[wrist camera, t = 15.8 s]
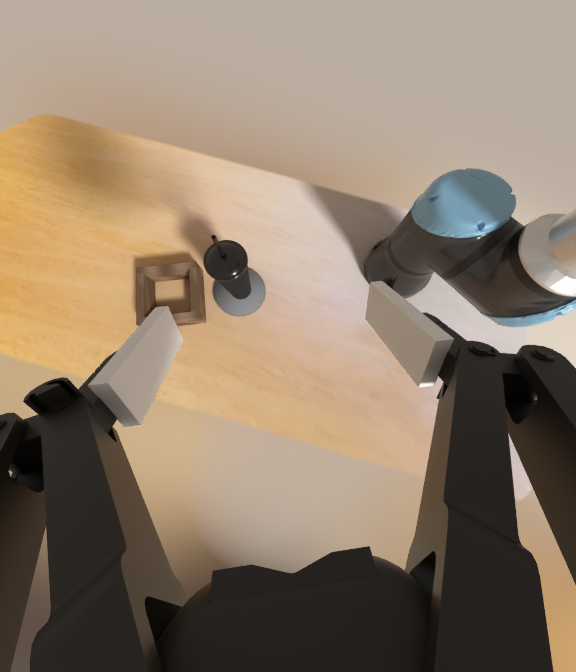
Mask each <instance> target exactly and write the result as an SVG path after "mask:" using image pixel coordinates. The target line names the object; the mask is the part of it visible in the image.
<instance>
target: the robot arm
mask: <svg viewBox="0 0 576 672" xmlns="http://www.w3.org/2000/svg"><path fill="white" fill-rule="evenodd" d="M511 192H512V188H511V187H510V185H509V184H508V183H507V182H506V181H504V180H503V179H502V178H501V177H499V176H497V175H495V174H493V173H491V172H488V171H484V170H480V169H465V170H460V169H459V170H454V171H451V172H448V173H446V174H444V175H442V176H440V177H439V178H437V179H436V180H435V181H434V182H433V183H432V184H431V185H430V186H429V187H428V188H427V189H426V191H425V192H424V193H423V194H422V195H421V196H420V197H418V198H417V200H416V201H415V202H414V205H413V207H412V208H411V210H410V211H409V212H408V214H407V215H406V216H405V218H404V219H403V220H402V222H401V223H400V224H399V226H398V227H397V228H396V230H395V231H394V232H393V234H391V235H390V236H388V237H386V238H384V239H383V240H381V241H380V242H378V243H377V244H376V245H375V246H374V247H373V248H372V250H371V251H370V252H369V254H368V256H367V258H366V261H365V275H366V278H367V280H368V282H369V284H370V288H369V295H368V303H367V310H366V317H365V319H366V320H367V321H368V322H369V324H370V325H371V326H372V328H373V329H374V330H375V331H376V333H377V334H378V335H379V337H380V338H381V339H382V341H383V342H384V343H385V344H386V346H387V347H388V348H389V350H390V351H391V352H392V354H393V355H394V356H395V357H396V359H397V360H398V361H399V363H400V364H401V365H402V366H403V368H404V369H405V370H406V372H407V373H408V374H409V376H410V377H411V378H412V379H413V381H414V382H415V383H416V385H417V386H418V387H425V386H433V385H435V382H436V380H437V378H438V376H439V377H440V378H441V379H442V381H443V382H444V383H443V385H442V387H441V389H440V391H439V394H438V396H437V399H439V403H438V409H437V414H436V420H435V426H434V431H433V437H432V443H431V448H430V454H429V459H428V465H427V471H426V476H425V482H424V487H423V493H422V499H421V504H420V510H419V516H418V521H417V527H416V532H415V536H414V539H413V542H412V545H411V548H410V551H409V554H408V559H407V563H406V568H405V571H404V570H403V569H402V568H400V567H399V566H397V565H395V564H393V563H391V562H389V561H387V560H385V559H382V558H379V557H376V556H372V553H371V550H370V547H362V548H356V549H349V550H343V551H337V552H332V553H330V554H328V555H326V556H324V557H323V558H321V559H319V560H317V561H315V562H314V563H312V564H310V565H308V566H307V567H305V568H303V569H301V570H300V571H298V572H296V573H286V572H282V571H277V570H273V569H268V568H264V567H259V566H255V565H247V566H241V567H235V568H228V569H222V570H215V571H213V574H212V581H211V582H210V583H208V584H207V585H205V586H204V587H203V588H201V589H200V590H199V591H197V592H196V593H195V594H194V595H193V596H192V597H191V598H190V599H189V598H188V596H187V594H186V592H185V590H184V588H183V586H182V585H181V583H180V582H179V581H178V579H177V578H176V577H175V575H174V573H173V572H172V570H171V567H170V565H169V562H168V560H167V557H166V555H165V552H164V550H163V547H162V545H161V542H160V539H159V537H158V534H157V532H156V529H155V527H154V525H153V522H152V519H151V517H150V514H149V512H148V509H147V507H146V504H145V502H144V499H143V497H142V494H141V492H140V489H139V487H138V484H137V482H136V479H135V476H134V474H133V471H132V469H131V466H130V464H129V461H128V459H127V456H126V454H125V451H124V449H123V446H122V444H121V441H120V439H119V436H118V434H117V431H116V430H115V429H114V428H113V427H112V426H113V425H114V423H115V422H116V420H117V419H118V421H119V422H120V423H121V424H122V425H123V426H124V427H126V426H134V425H141V423H142V421H143V419H144V417H145V415H146V413H147V411H148V409H149V408H150V406H151V403H152V402H153V400H154V398H155V396H156V394H157V392H158V390H159V388H160V386H161V384H162V382H163V380H164V378H165V376H166V374H167V372H168V370H169V368H170V366H171V364H172V362H173V360H174V358H175V356H176V354H177V352H178V350H179V348H180V346H181V344H182V342H183V339H182V337H181V334H180V332H179V330H178V327H177V325H176V323H175V321H174V318H173V316H172V314H171V312H170V309H169V307H168V306H162V307H155V309H154V310H153V311H152V312H151V313H150V314H149V316H148V317H147V318H146V319H145V320H144V321H143V322H142V324H141V325H140V326H139V327H138V328H137V329H136V331H135V332H134V333H133V334H132V335H131V336H130V337H129V339H128V340H127V341H126V342H125V343H124V344H123V345H122V347H121V348H120V349H119V350H118V351H116V352H114V353H113V354H112V355H110V356H109V357H107V358H106V359H105V360H104V361H103V363H102V364H101V365H100V367H98V368H97V369H96V370H95V373H93V374H92V375H91V376H90V377H89V378H88V379H87V380H86V382H85V383H84V384H83V385H82V386H81V387H80V388H79V389H77V388H76V387H75V386H74V385H73V384H72V383H71V381H70V380H69V379H68V378H57V379H53V380H50V381H48V382H45V383H43V384H42V385H40V386H38V387H36V388H35V389H33V390H32V391H31V392H29V394H28V395H27V396H26V397H25V398H24V401H23V402H24V403H26V404H27V405H28V406H29V407H31V409H33V410H34V411H35V412H36V413H38V414H39V415H36V416H33V417H30V418H27V419H24V420H23V419H22V418H20V417H19V416H18V415H17V414H15V413H6V414H3V415H0V672H10V669H11V665H12V661H13V657H14V653H15V649H16V645H17V641H18V637H19V633H20V628H21V625H22V621H23V617H24V613H25V609H26V604H27V600H28V596H29V592H30V588H31V584H32V580H33V576H34V571H35V568H36V564H37V560H38V555H39V551H40V547H41V543H42V539H43V535H44V531H45V527H46V529H47V546H48V562H49V563H48V564H49V582H50V598H51V599H50V600H51V614H50V618H49V620H48V622H47V623H46V624H45V625H44V626H43V627H42V628H41V629H40V630H39V631H38V632H37V634H36V636H35V639H34V641H33V644H32V648H31V657H30V672H553V666H552V659H551V651H550V645H549V637H548V630H547V623H546V617H545V609H544V602H543V595H542V588H541V581H540V575H539V571H538V567H537V563H536V561H535V559H534V557H533V555H532V553H530V552H529V551H528V550H527V549H525V548H524V547H523V546H522V545H521V543H520V540H519V536H518V529H517V519H516V518H517V517H516V509H515V497H514V487H513V477H512V467H511V457H510V447H509V437H508V433H509V435H510V437H511V439H512V442H513V444H514V446H515V448H516V451H517V453H518V455H519V457H520V460H521V462H522V464H523V466H524V469H525V471H526V473H527V476H528V478H529V480H530V482H531V485H532V487H533V489H534V491H535V494H536V496H537V498H538V500H539V503H540V505H541V507H542V509H543V512H544V514H545V516H546V519H547V521H548V523H549V525H550V528H551V530H552V532H553V534H554V537H555V539H556V541H557V543H558V546H559V548H560V550H561V552H562V555H563V557H564V559H565V561H566V563H567V566H568V568H569V571H570V573H571V575H572V577H573V579H574V582H575V584H576V368H575V367H574V366H573V365H572V364H571V363H570V362H569V361H568V360H567V359H566V358H565V357H564V356H563V355H561V354H560V353H558V352H556V351H554V350H553V349H550V348H547V347H544V346H537V345H525V346H522V347H521V348H520V350H519V351H518V353H517V354H507V353H499V351H497V350H496V349H495V348H494V347H492V346H490V345H488V344H485V343H482V342H476V341H466V340H465V339H464V338H462V337H461V336H460V335H459V334H457V333H456V332H455V331H453V330H452V329H451V328H448V326H447V325H445V324H444V323H442V321H440V320H439V319H438V318H436V317H435V316H432V315H430V314H428V313H421V312H420V311H419V310H418V309H416V308H415V307H414V306H413V305H411V304H410V303H409V302H408V301H406V300H405V298H408V297H411V296H413V295H415V294H416V293H418V292H419V291H421V290H422V289H423V288H424V287H425V286H426V285H427V283H428V282H429V280H430V278H431V276H432V274H433V273H434V272H436V273H437V274H438V275H439V276H440V277H441V278H443V279H444V280H445V281H446V282H447V283H448V284H449V285H450V286H452V287H453V288H454V289H455V290H456V291H457V292H458V293H459V294H461V295H462V296H463V297H464V298H465V299H466V300H467V301H468V302H470V303H471V304H472V305H473V306H474V307H475V308H476V309H477V310H478V311H480V313H481V314H483V315H485V316H487V317H489V318H490V319H491V320H493V321H494V322H495V323H497V324H499V325H502V326H506V327H527V326H532V325H537V324H541V323H545V322H548V321H550V320H553V319H554V317H556V316H558V315H565V314H567V313H570V312H571V311H573V310H575V309H576V209H575V210H574V211H572V212H570V213H568V214H548V215H544V216H541V217H539V218H537V219H535V220H533V221H532V222H530V223H529V224H527V225H526V226H523V225H522V224H520V223H519V222H518V221H516V220H515V219H514V218H512V217H511V215H512V213H513V212H514V209H515V205H516V198H515V195H513V194H510V193H511ZM9 470H10V471H12V472H13V473H12V475H11V477H10V474H9Z"/></svg>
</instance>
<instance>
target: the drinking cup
mask: <svg viewBox="0 0 576 672" xmlns="http://www.w3.org/2000/svg"><path fill="white" fill-rule="evenodd" d="M211 238H212V240H213V242H214V244H213V245H211V246H210V247H209V248H208V250H207V251H206V253H205V255H204V267H205V269H206V271H207V273H208V274H209V275H210V276H211V277H212V278H214V279H216V280H217V281H218V282H219V283H220V284H221V285H222V286H223V287H224V288H225V289H226V290H227V291H228V292H229V293H230V294H231V295H232V296H233V297H235V298H236V299H245V298H247V297H248V296H249V295H250V293H251V284H250V278H249V272H248V266H247V264H248V257H247V253H246V251H245V249H244V248H243V247H242V246H241V245H240V244H238V243H237V242H234V241H231V240H222V241H218V240H217V238H216V236H215V235H212V236H211Z"/></svg>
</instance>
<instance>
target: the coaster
mask: <svg viewBox="0 0 576 672" xmlns="http://www.w3.org/2000/svg"><path fill="white" fill-rule="evenodd" d="M248 272H249V278H250V284H251V293H250V295H249V296H248V297H247V298H245V299H236V298H235V297H233V296H232V295H231V294H230V293H229V292H228V291H227V290H226V289H225V288H224V287H223V286H222V285H221V284H220V283H219V282H218V281H217V282H216V284H215V287H214V297H215V300H216V302H217V304H218V306H219V307H220V308H221V309H222V310H223V311H224V312H226V313H228V314H230V315H233V316H246V315H249V314H251V313H253V312H255V311H256V310H257V309H258V308H259V307H260V306H261V305H262V303H263V301H264V298H265V285H264V282H263V280H262V278H261V277H260V275H259V274H258V273H256V272H255V271H254V270H252V269H249V268H248Z"/></svg>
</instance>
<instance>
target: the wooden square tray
mask: <svg viewBox="0 0 576 672" xmlns="http://www.w3.org/2000/svg"><path fill="white" fill-rule="evenodd" d="M187 278H189V279H190V298H191V312H184V313H175V314H172V316H173V318H174V321H175V323H176V325H177V326H182V325H191V324H199V323H206V311H205V295H204V280H203V270H202V269H201V268H200V266H199V265H198V264H197V263H196V261H194V262H185V263H176V264H167V265H158V266H149V267H140V268H136V325H138V326H140V325H141V324H142V322H143V321H144V320H145V319H146V318H147V317H148V316H149V314H150V313H151V312H152V311H153V310H154V309H155V307H156V300H155V282H160V281H169V280H178V279H187Z"/></svg>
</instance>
